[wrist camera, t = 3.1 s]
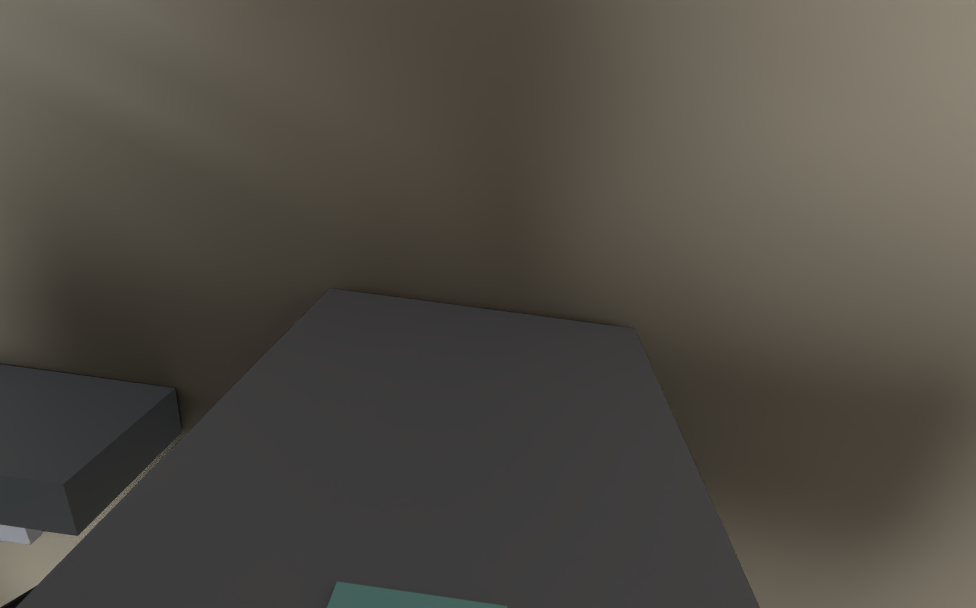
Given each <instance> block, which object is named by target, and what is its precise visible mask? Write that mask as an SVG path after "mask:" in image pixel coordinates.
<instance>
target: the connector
mask: <svg viewBox="0 0 976 608" xmlns="http://www.w3.org/2000/svg"><path fill="white" fill-rule="evenodd" d="M16 608H760V607H759V605H758V603H757V601H756V598H755V596H754V594H753V592H752V590H751V587H750V585H749V583H748V581H747V578H746V576H745V574H744V572H743V569H742V567H741V565H740V563H739V560H738V558H737V556H736V554H735V552H734V549H733V547H732V545H731V543H730V540H729V538H728V536H727V534H726V531H725V529H724V527H723V525H722V523H721V520H720V518H719V516H718V514H717V511H716V509H715V507H714V505H713V502H712V500H711V498H710V496H709V494H708V491H707V489H706V487H705V485H704V482H703V480H702V478H701V476H700V473H699V471H698V469H697V467H696V464H695V462H694V460H693V458H692V456H691V453H690V451H689V449H688V447H687V444H686V442H685V440H684V438H683V435H682V433H681V431H680V429H679V427H678V424H677V422H676V420H675V418H674V415H673V413H672V411H671V409H670V406H669V404H668V402H667V400H666V398H665V395H664V393H663V391H662V389H661V386H660V384H659V382H658V380H657V377H656V375H655V373H654V371H653V368H652V366H651V364H650V362H649V360H648V357H647V355H646V353H645V351H644V348H643V346H642V344H641V342H640V339H639V337H638V335H637V333H636V331H635V329H633V328H626V327H618V326H611V325H603V324H595V323H588V322H580V321H573V320H565V319H558V318H550V317H543V316H535V315H528V314H520V313H512V312H505V311H497V310H490V309H482V308H475V307H467V306H460V305H452V304H445V303H437V302H429V301H422V300H414V299H407V298H399V297H392V296H384V295H377V294H369V293H362V292H354V291H346V290H339V289H331V288H329V289H328V290H327V291H326V292H325V293H324V294H323V295H322V296H321V297H320V298H319V299H318V300H317V301H316V302H315V303H314V304H313V305H312V306H311V307H310V308H309V309H308V310H307V312H306V313H305V314H304V315H303V316H302V317H301V318H300V319H299V320H298V321H297V322H296V323H295V324H294V325H293V326H292V327H291V328H290V329H289V330H288V331H287V332H286V333H285V334H284V335H283V336H282V337H281V338H280V339H279V340H278V341H277V342H276V343H275V344H274V345H273V346H272V347H271V348H270V349H269V350H268V351H267V352H266V353H265V354H264V355H263V356H262V357H261V358H260V359H259V360H258V361H257V362H256V363H255V364H254V365H253V366H252V367H251V369H250V370H249V371H248V372H247V373H246V374H245V375H244V376H243V377H242V378H241V379H240V380H239V381H238V382H237V383H236V384H235V385H234V386H233V387H232V388H231V389H230V390H229V391H228V392H227V393H226V394H225V395H224V396H223V397H222V398H221V399H220V400H219V401H218V402H217V403H216V404H215V405H214V406H213V407H212V408H211V409H210V410H209V411H208V412H207V413H206V414H205V415H204V416H203V417H202V418H201V419H200V420H199V421H198V422H197V423H196V424H195V425H194V427H193V428H192V429H191V430H190V431H189V432H188V433H187V434H186V435H185V436H184V437H183V438H182V439H181V440H180V441H179V442H178V443H177V444H176V445H175V446H174V447H173V448H172V449H171V450H170V451H169V452H168V453H167V454H166V455H165V456H164V457H163V458H162V459H161V460H160V461H159V462H158V463H157V464H156V465H155V466H154V467H153V468H152V469H151V470H150V471H149V472H148V473H147V474H146V475H145V476H144V477H143V478H142V479H141V480H140V481H139V482H138V484H137V485H136V486H135V487H134V488H133V489H132V490H131V491H130V492H129V493H128V494H127V495H126V496H125V497H124V498H123V499H122V500H121V501H120V502H119V503H118V504H117V505H116V506H115V507H114V508H113V509H112V510H111V511H110V512H109V513H108V514H107V515H106V516H105V517H104V518H103V519H102V520H101V521H100V522H99V523H98V524H97V525H96V526H95V527H94V528H93V529H92V530H91V531H90V532H89V533H88V534H87V535H86V536H85V537H84V538H83V539H82V540H81V542H80V543H79V544H78V545H77V546H76V547H75V548H74V549H73V550H72V551H71V552H70V553H69V554H68V555H67V556H66V557H65V558H64V559H63V560H62V561H61V562H60V563H59V564H58V565H57V566H56V567H55V568H54V569H53V570H52V571H51V572H50V573H49V574H48V575H47V576H46V577H45V578H44V579H43V580H42V581H41V582H40V583H39V584H38V585H37V586H36V587H35V588H34V589H33V590H32V591H31V592H30V593H29V594H28V595H27V596H26V597H25V599H24V600H23V601H22V602H21V603H20V604H19V605H18V606H17V607H16Z"/></svg>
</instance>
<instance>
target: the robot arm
mask: <svg viewBox="0 0 976 608" xmlns="http://www.w3.org/2000/svg"><path fill="white" fill-rule="evenodd" d="M34 588H35V587H34ZM34 588H32V589H31V590H29V591H27V592H26V593H24V594H22V595H21V596H19V597H17V598H16V599H14V600H12V601H11V602H9V603H7V604H6V605H4V606H2V607H1V608H16V607H17V606H18V605H19V604H20V603H21V602H22V601H23V600H24V599H25V597H26V596H27V595H28V594H29V593H30V592H31V591H32V590H33V589H34Z"/></svg>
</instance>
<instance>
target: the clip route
mask: <svg viewBox="0 0 976 608" xmlns="http://www.w3.org/2000/svg"><path fill="white" fill-rule="evenodd" d="M42 534H43V533H42V531H41V530H34V529H27V528H20V527H13V526H6V525H0V540H1V541H8V542H15V543H22V544H29V545H31V544H32V543H33V542H34V541H35V540H36V539H37V538H38V537H40V536H41V535H42Z"/></svg>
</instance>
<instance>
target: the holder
mask: <svg viewBox="0 0 976 608" xmlns="http://www.w3.org/2000/svg"><path fill="white" fill-rule="evenodd" d="M181 432H182V429H181V422H180V416H179V410H178V403H177V397H176V390H175V388H170V387H163V386H156V385H148V384H141V383H134V382H126V381H119V380H112V379H105V378H97V377H90V376H83V375H75V374H68V373H61V372H53V371H46V370H39V369H32V368H24V367H17V366H10V365H2V364H0V525H6V526H13V527H20V528H27V529H34V530H41V531H48V532H55V533H62V534H69V535H76V536H78V535H79V534H80V533H81V532H82V531H83V530H84V529H85V528H86V527H87V526H88V525H89V524H90V523H91V522H92V521H93V520H94V519H95V518H96V517H97V516H98V515H99V514H100V513H101V512H102V511H103V510H104V509H105V508H106V507H107V506H108V505H109V504H110V503H111V502H112V501H113V500H114V499H115V498H116V497H117V496H118V495H119V494H120V493H121V492H122V491H123V490H124V489H125V488H126V487H127V486H128V485H129V484H130V483H131V482H132V481H133V480H134V479H135V478H136V477H137V476H138V475H139V474H140V473H141V472H142V471H143V470H144V469H145V468H146V467H147V466H148V465H149V464H150V463H151V462H152V461H153V460H154V459H155V458H156V457H157V456H158V455H159V454H160V453H161V452H162V451H163V450H164V449H165V448H166V447H167V446H168V445H169V444H170V443H171V442H172V441H173V440H174V439H175V438H176V437H177V436H178V435H179V434H180V433H181Z"/></svg>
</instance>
